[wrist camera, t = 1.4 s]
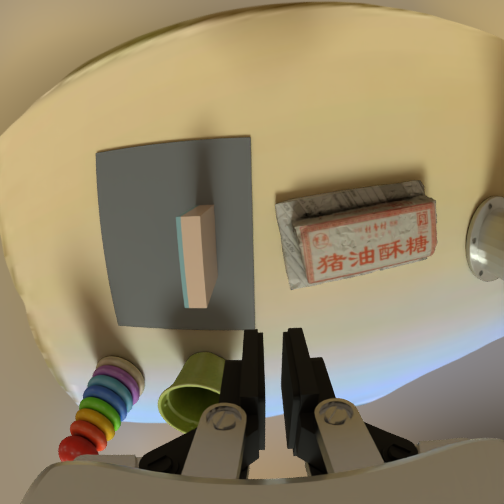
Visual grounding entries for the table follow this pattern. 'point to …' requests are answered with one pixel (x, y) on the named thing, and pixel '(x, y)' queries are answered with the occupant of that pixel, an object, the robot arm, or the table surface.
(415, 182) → the packaged product
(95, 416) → the stacking toy
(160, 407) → the plant pot
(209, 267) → the tile
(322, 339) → the table surface
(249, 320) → the mat
